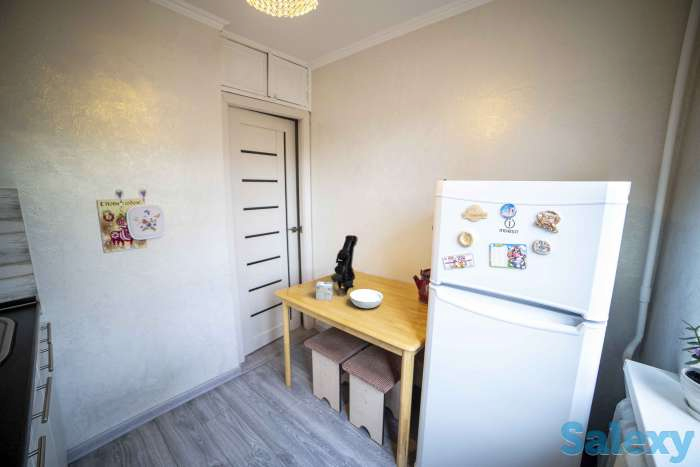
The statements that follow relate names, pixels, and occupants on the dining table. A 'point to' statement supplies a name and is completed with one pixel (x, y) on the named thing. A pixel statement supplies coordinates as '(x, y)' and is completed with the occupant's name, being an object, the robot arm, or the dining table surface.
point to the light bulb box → (324, 290)
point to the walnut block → (341, 292)
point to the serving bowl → (366, 298)
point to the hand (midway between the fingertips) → (342, 291)
